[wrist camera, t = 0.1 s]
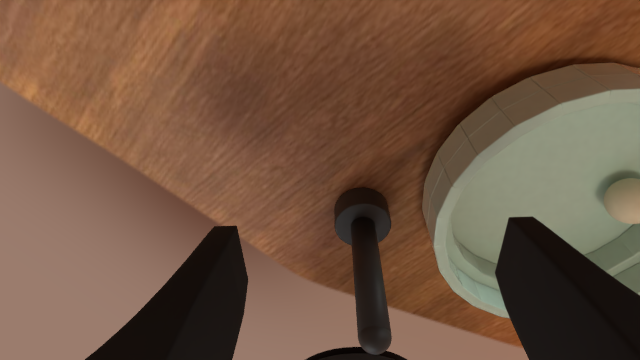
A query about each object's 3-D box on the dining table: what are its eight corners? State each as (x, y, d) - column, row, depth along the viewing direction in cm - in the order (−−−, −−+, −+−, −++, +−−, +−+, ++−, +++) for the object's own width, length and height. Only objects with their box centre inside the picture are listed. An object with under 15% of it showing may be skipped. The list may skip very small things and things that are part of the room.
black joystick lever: (386, 228, 26) (413, 373, 18) (335, 230, 26) (338, 374, 18) (388, 186, 24) (418, 325, 16) (333, 188, 24) (335, 327, 16)
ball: (632, 204, 23) (661, 232, 21) (588, 206, 23) (613, 234, 21) (649, 168, 22) (680, 194, 20) (602, 170, 22) (629, 196, 20)
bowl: (630, 268, 27) (672, 319, 24) (411, 273, 28) (423, 324, 24) (739, 50, 19) (825, 80, 16) (431, 65, 20) (452, 96, 17)
